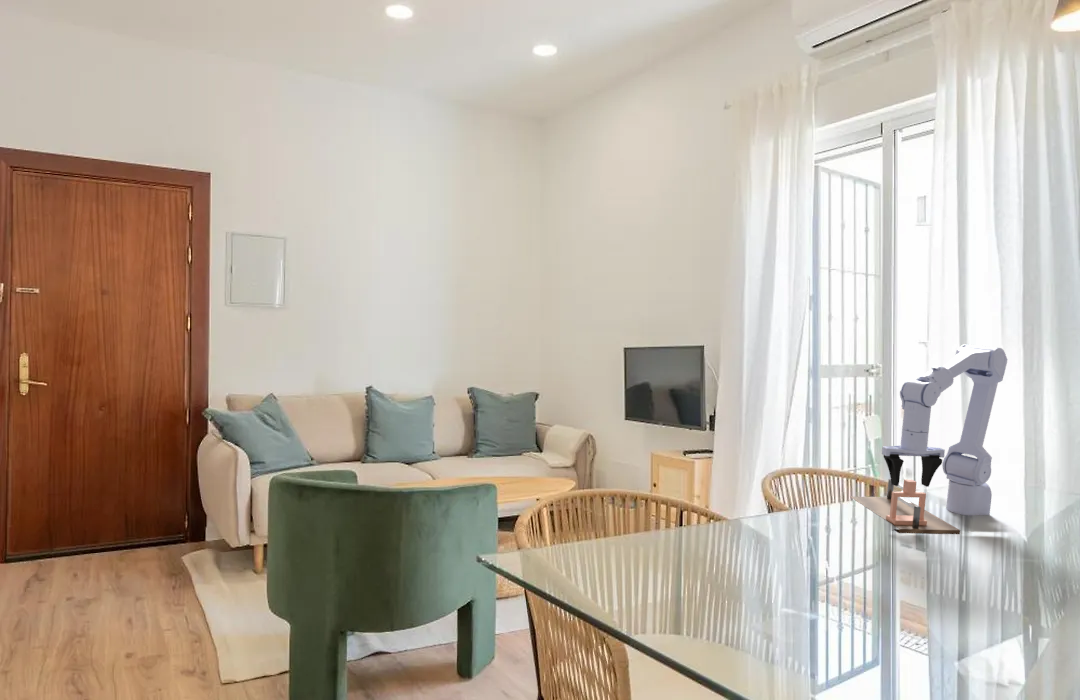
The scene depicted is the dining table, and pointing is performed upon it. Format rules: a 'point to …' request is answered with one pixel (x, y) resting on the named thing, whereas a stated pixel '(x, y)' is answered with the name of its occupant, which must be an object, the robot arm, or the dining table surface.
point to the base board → (883, 508)
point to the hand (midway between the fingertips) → (909, 485)
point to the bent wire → (916, 508)
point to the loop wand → (908, 491)
